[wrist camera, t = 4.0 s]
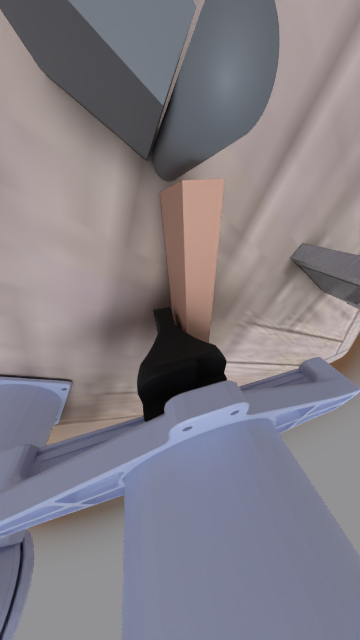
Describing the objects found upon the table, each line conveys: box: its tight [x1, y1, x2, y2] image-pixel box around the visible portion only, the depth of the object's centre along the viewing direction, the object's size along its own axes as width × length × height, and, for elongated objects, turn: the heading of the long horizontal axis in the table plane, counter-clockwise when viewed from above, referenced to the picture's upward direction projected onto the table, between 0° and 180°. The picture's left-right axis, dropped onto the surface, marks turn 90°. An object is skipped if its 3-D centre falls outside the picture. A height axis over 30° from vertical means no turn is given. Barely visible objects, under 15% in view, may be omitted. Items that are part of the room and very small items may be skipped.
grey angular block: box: [291, 244, 360, 309], centre depth 14 cm, size 3×9×7 cm, turn 59°
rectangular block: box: [160, 179, 225, 343], centre depth 11 cm, size 13×2×5 cm, turn 3°
